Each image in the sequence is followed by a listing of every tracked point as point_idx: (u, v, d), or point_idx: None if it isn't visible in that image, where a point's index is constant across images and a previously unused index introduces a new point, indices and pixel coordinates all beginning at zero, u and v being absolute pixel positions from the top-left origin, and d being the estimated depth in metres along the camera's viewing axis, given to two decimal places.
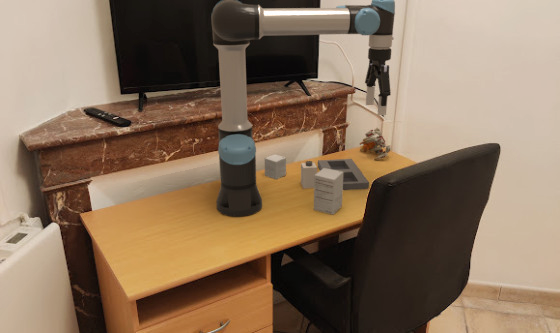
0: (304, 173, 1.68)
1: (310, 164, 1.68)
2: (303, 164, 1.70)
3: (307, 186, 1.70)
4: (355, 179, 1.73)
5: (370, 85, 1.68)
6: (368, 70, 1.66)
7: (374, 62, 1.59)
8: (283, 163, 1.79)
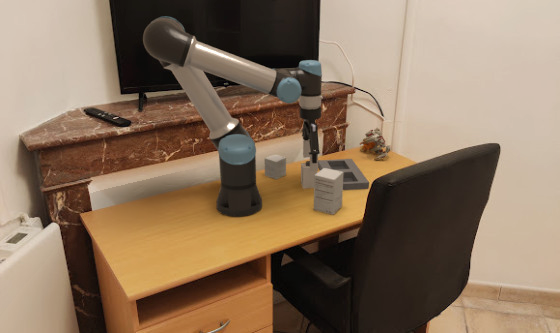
0: (304, 173, 1.68)
1: None
2: (303, 164, 1.70)
3: (307, 186, 1.70)
4: (355, 179, 1.73)
5: (306, 139, 1.73)
6: (303, 125, 1.71)
7: (306, 119, 1.64)
8: (283, 163, 1.79)
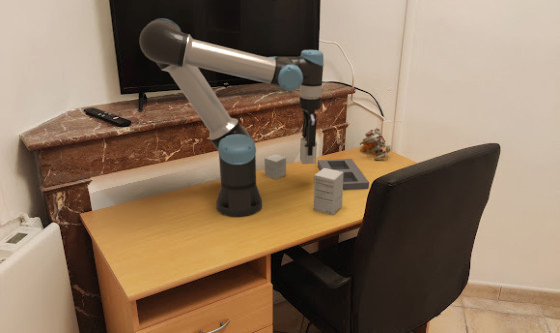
0: (303, 148, 1.64)
1: None
2: (302, 139, 1.66)
3: None
4: (355, 179, 1.73)
5: None
6: (303, 121, 1.69)
7: None
8: (283, 163, 1.79)
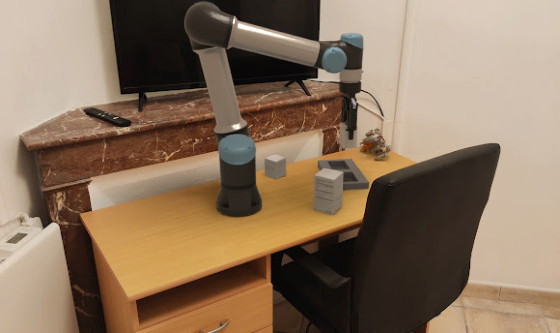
0: (344, 132, 1.64)
1: None
2: (342, 123, 1.66)
3: None
4: (355, 179, 1.73)
5: None
6: (342, 106, 1.68)
7: None
8: (283, 163, 1.79)
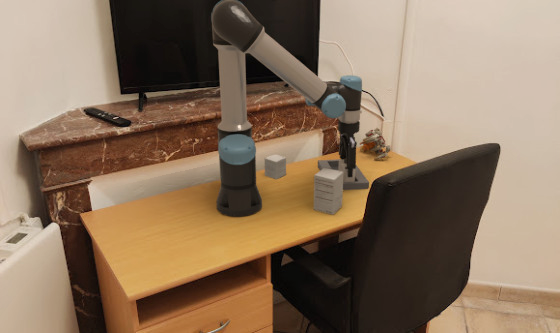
0: (343, 170, 1.69)
1: None
2: (341, 161, 1.71)
3: None
4: (355, 179, 1.73)
5: (343, 157, 1.75)
6: (340, 141, 1.74)
7: None
8: (283, 163, 1.79)
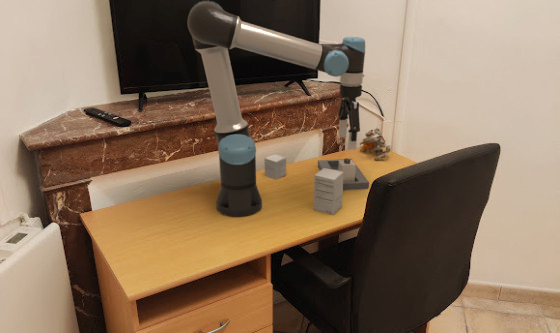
0: (343, 170, 1.69)
1: (348, 161, 1.70)
2: (341, 161, 1.71)
3: None
4: (355, 179, 1.73)
5: (343, 118, 1.72)
6: (341, 104, 1.70)
7: (346, 97, 1.63)
8: (283, 163, 1.79)
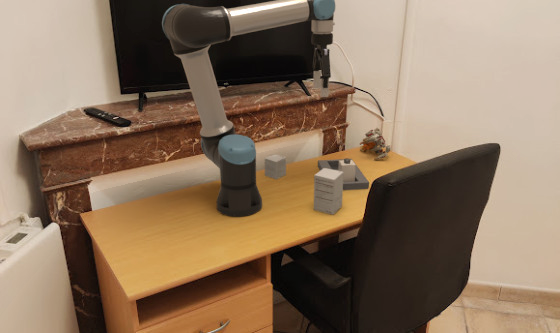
0: (343, 170, 1.69)
1: (348, 161, 1.70)
2: (341, 161, 1.71)
3: None
4: (355, 179, 1.73)
5: (317, 69, 1.76)
6: (314, 55, 1.74)
7: (318, 46, 1.67)
8: (283, 163, 1.79)
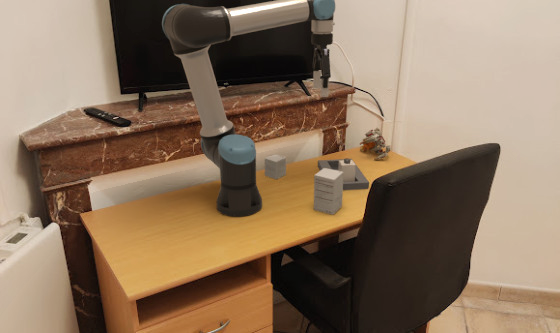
0: (343, 170, 1.69)
1: (348, 161, 1.70)
2: (341, 161, 1.71)
3: None
4: (355, 179, 1.73)
5: (316, 69, 1.76)
6: (314, 55, 1.74)
7: (317, 46, 1.67)
8: (283, 163, 1.79)
